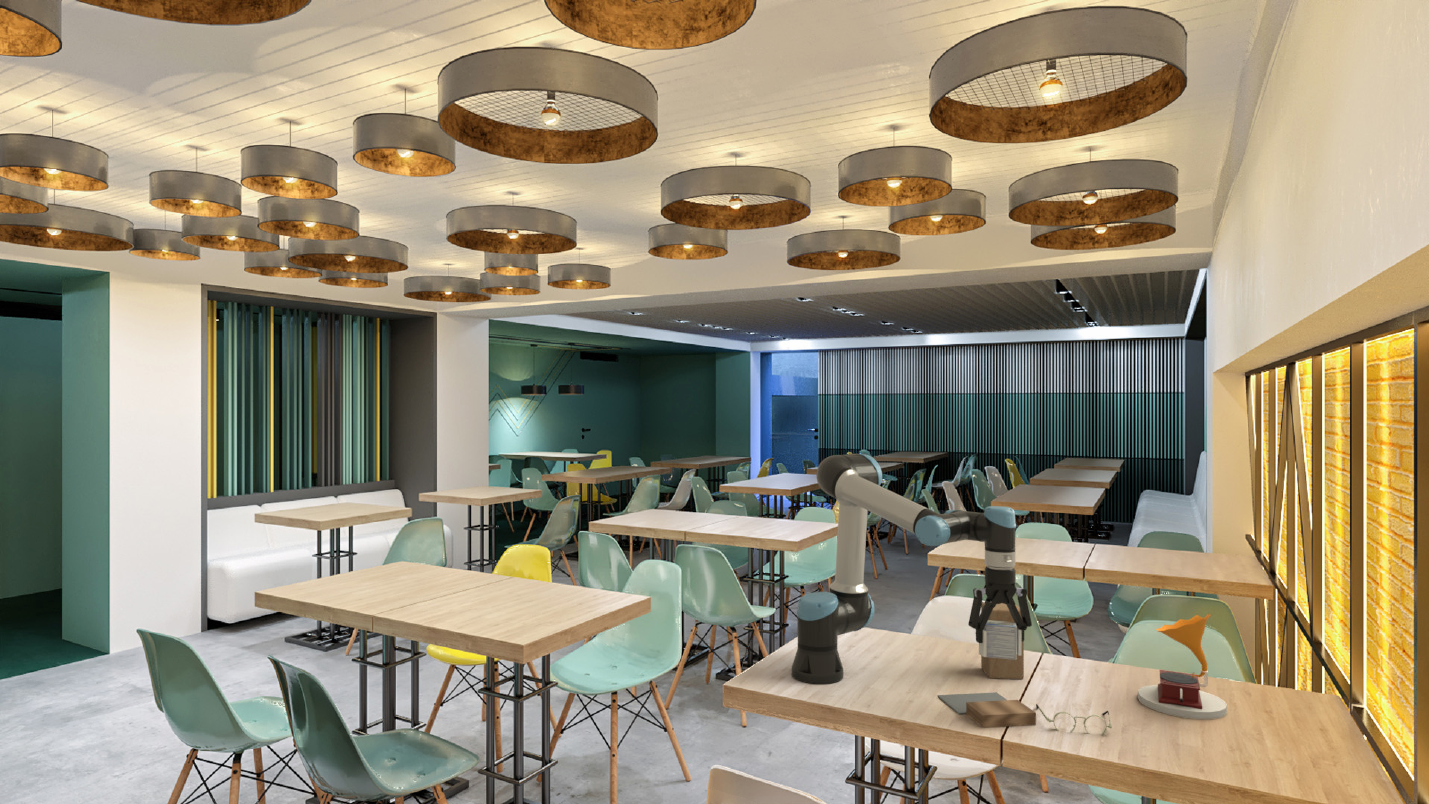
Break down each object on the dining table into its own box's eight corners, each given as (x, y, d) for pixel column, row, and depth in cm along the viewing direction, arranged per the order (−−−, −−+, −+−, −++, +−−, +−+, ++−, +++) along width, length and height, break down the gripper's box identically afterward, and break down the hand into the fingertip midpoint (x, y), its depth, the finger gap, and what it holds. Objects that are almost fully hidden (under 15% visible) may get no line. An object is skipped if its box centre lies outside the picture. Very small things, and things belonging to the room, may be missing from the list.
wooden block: (1014, 668, 243) (1014, 602, 243) (1024, 679, 233) (1024, 610, 234) (980, 667, 244) (980, 601, 244) (988, 678, 234) (988, 609, 235)
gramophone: (1223, 699, 218) (1223, 607, 218) (1230, 725, 200) (1230, 624, 200) (1138, 687, 228) (1138, 598, 228) (1137, 710, 210) (1137, 614, 210)
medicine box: (1016, 655, 208) (1016, 622, 208) (1016, 660, 204) (1016, 626, 204) (984, 652, 211) (984, 619, 211) (984, 657, 207) (984, 623, 207)
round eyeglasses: (1042, 731, 197) (1042, 710, 197) (1034, 709, 212) (1034, 689, 212) (1118, 739, 193) (1118, 718, 193) (1105, 715, 207) (1105, 696, 207)
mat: (958, 714, 206) (958, 712, 206) (937, 696, 219) (937, 695, 219) (1020, 711, 209) (1021, 709, 209) (996, 693, 222) (996, 692, 222)
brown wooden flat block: (982, 727, 198) (982, 715, 198) (966, 714, 207) (966, 702, 207) (1035, 724, 200) (1035, 712, 200) (1017, 711, 209) (1017, 699, 209)
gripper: (967, 570, 203) (967, 660, 202) (1047, 568, 206) (1047, 657, 205) (954, 565, 210) (954, 652, 210) (1031, 563, 213) (1031, 648, 213)
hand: (1000, 654), depth 207 cm, fingers closed on medicine box, 9 cm apart
